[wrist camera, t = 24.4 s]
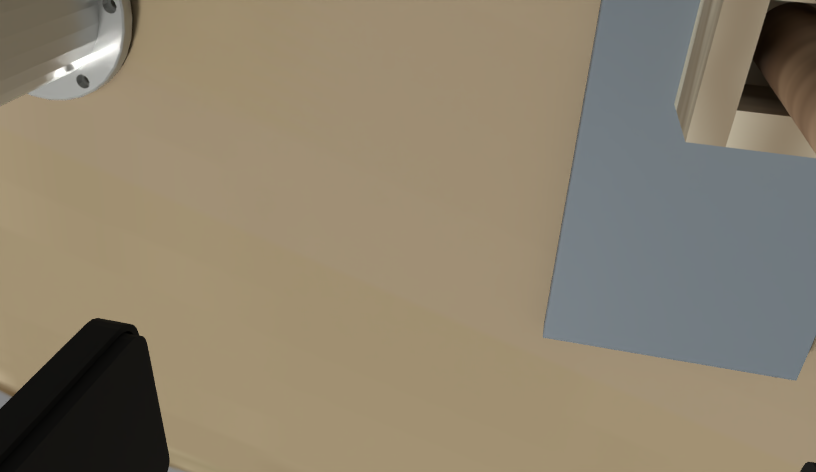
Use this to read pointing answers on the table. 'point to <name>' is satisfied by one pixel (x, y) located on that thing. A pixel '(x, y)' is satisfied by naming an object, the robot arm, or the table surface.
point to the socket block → (733, 83)
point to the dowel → (791, 62)
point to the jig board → (678, 218)
